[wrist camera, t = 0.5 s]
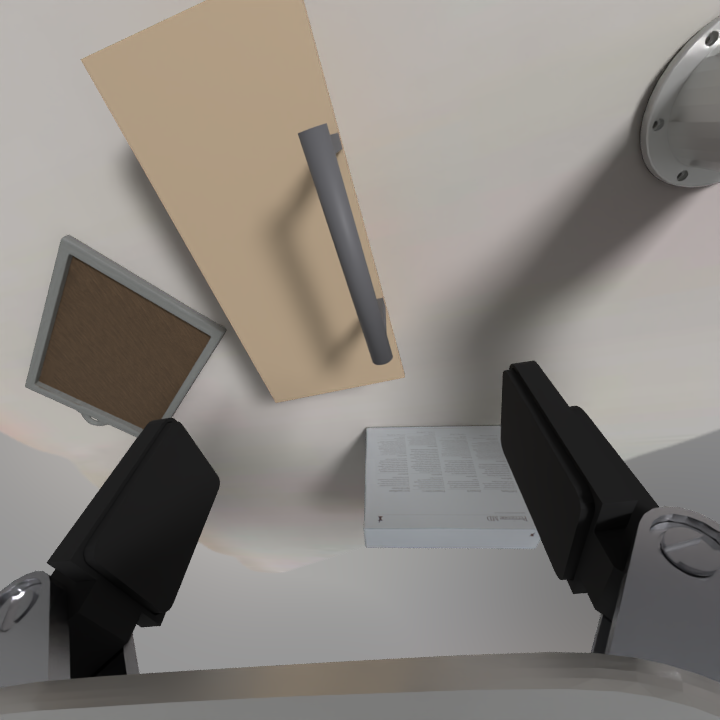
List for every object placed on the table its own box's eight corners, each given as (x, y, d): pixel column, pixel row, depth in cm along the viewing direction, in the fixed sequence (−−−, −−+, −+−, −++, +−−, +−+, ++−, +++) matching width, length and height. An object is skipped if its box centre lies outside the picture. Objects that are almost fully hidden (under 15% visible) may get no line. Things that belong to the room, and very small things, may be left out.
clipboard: (224, 333, 43) (148, 453, 57) (228, 327, 44) (153, 445, 58) (60, 236, 37) (21, 397, 51) (71, 232, 38) (30, 390, 52)
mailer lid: (298, -37, 20) (251, -131, 13) (407, 372, 37) (414, 436, 29) (89, 61, 23) (-50, 32, 16) (277, 398, 40) (254, 462, 32)
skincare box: (367, 449, 56) (363, 549, 43) (365, 426, 53) (361, 525, 40) (499, 449, 54) (537, 552, 41) (505, 424, 51) (549, 527, 38)
